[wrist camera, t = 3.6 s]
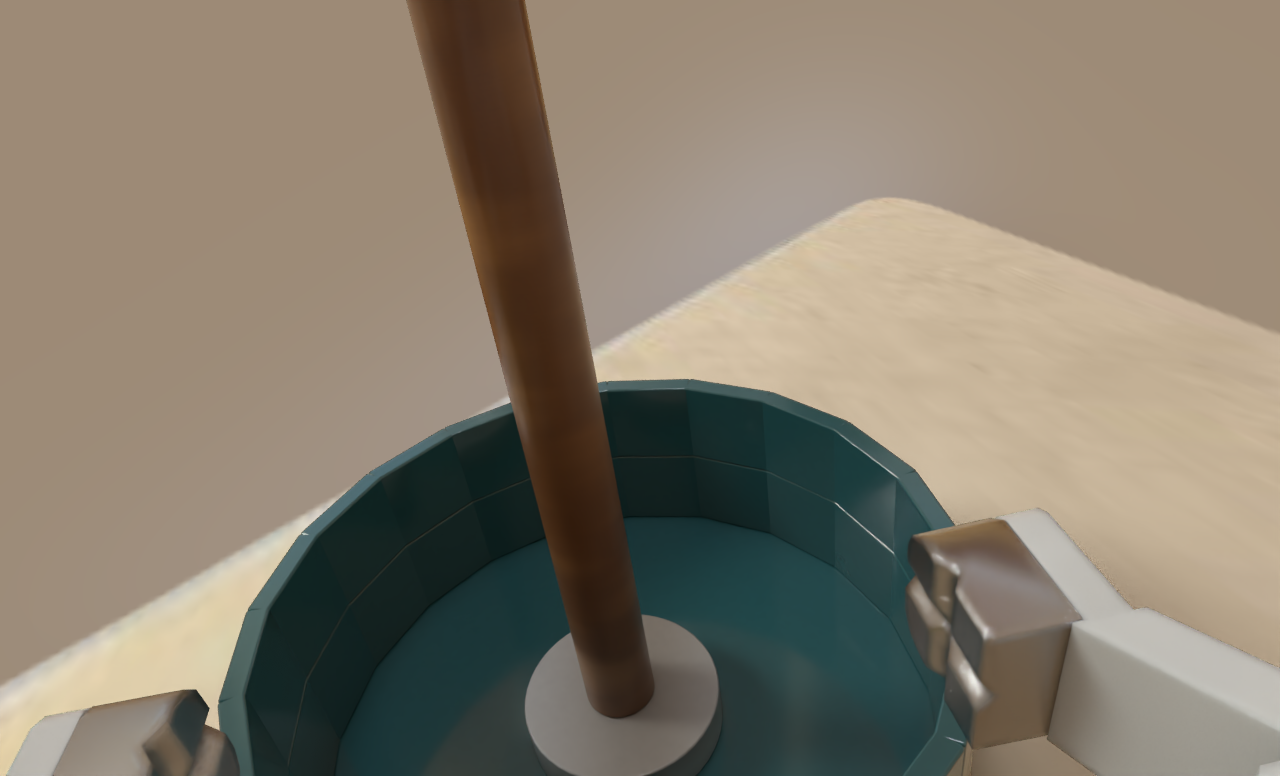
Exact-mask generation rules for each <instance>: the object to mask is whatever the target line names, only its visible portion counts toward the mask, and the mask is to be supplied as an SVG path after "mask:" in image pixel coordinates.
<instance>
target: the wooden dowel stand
mask: <svg viewBox="0 0 1280 776" xmlns="http://www.w3.org/2000/svg"><path fill="white" fill-rule="evenodd" d="M406 1H407V5H408V9H409V13H410V16H411V20H412V24H413V27H414V32H415V36H416V39H417V43H418V47H419V51H420V55H421V58H422V62H423V66H424V70H425V74H426V78H427V82H428V85H429V89H430V93H431V97H432V101H433V105H434V109H435V112H436V116H437V120H438V124H439V128H440V131H441V136H442V139H443V143H444V147H445V151H446V155H447V159H448V162H449V166H450V170H451V173H452V178H453V182H454V185H455V189H456V193H457V197H458V201H459V205H460V208H461V212H462V216H463V220H464V224H465V228H466V232H467V235H468V239H469V243H470V247H471V251H472V255H473V259H474V262H475V266H476V270H477V273H478V278H479V281H480V285H481V289H482V293H483V297H484V301H485V304H486V308H487V312H488V316H489V320H490V324H491V327H492V331H493V335H494V339H495V343H496V347H497V351H498V354H499V358H500V362H501V366H502V370H503V374H504V378H505V381H506V385H507V389H508V393H509V397H510V401H511V405H512V408H513V412H514V416H515V420H516V424H517V428H518V431H519V435H520V439H521V443H522V447H523V451H524V455H525V458H526V462H527V466H528V470H529V474H530V478H531V481H532V485H533V489H534V493H535V497H536V501H537V504H538V508H539V512H540V516H541V520H542V524H543V528H544V531H545V535H546V539H547V543H548V547H549V551H550V554H551V558H552V562H553V566H554V570H555V574H556V578H557V581H558V585H559V589H560V593H561V597H562V601H563V604H564V608H565V612H566V616H567V620H568V624H569V627H570V631H571V633H569V634H567V635H566V636H565V637H563V638H562V639H561V640H559V641H558V642H557V643H556V644H555V645H554V646H553V647H552V648H551V649H550V650H549V651H548V652H547V653H546V654H545V656H544V657H543V658H542V659H541V661H540V662H539V664H538V665H537V667H536V669H535V671H534V673H533V675H532V677H531V679H530V682H529V685H528V688H527V692H526V698H525V718H526V724H527V728H528V731H529V734H530V737H531V740H532V743H533V746H534V749H535V752H536V755H537V758H538V760H539V763H540V765H541V767H542V769H543V770H544V771H545V773H546V774H547V776H696V775H697V774H698V773H699V772H700V770H701V769H702V768H703V767H704V765H705V764H706V763H707V761H708V760H709V758H710V756H711V755H712V753H713V751H714V749H715V747H716V744H717V742H718V739H719V735H720V731H721V727H722V717H723V716H722V702H721V694H720V686H719V679H718V674H717V669H716V667H715V664H714V661H713V659H712V657H711V655H710V654H709V652H708V650H707V649H706V648H705V646H704V645H703V644H702V643H701V641H699V640H698V639H697V638H696V637H695V636H694V635H693V634H692V633H691V632H689V631H688V630H686V629H685V628H683V627H681V626H680V625H678V624H676V623H674V622H671V621H669V620H666V619H663V618H659V617H655V616H649V615H641V610H640V605H639V599H638V594H637V589H636V583H635V578H634V573H633V568H632V562H631V557H630V552H629V547H628V541H627V536H626V531H625V526H624V520H623V515H622V510H621V505H620V499H619V494H618V489H617V483H616V478H615V473H614V468H613V462H612V457H611V452H610V447H609V441H608V436H607V431H606V426H605V420H604V415H603V410H602V405H601V399H600V394H599V389H598V383H597V378H596V373H595V368H594V362H593V357H592V352H591V347H590V342H589V336H588V332H587V326H586V320H585V315H584V310H583V304H582V299H581V294H580V289H579V283H578V279H577V273H576V268H575V262H574V257H573V252H572V247H571V242H570V237H569V231H568V226H567V220H566V215H565V210H564V204H563V199H562V194H561V189H560V183H559V178H558V173H557V168H556V162H555V157H554V152H553V147H552V141H551V136H550V131H549V126H548V120H547V115H546V110H545V105H544V99H543V94H542V89H541V83H540V78H539V73H538V68H537V62H536V57H535V52H534V47H533V41H532V36H531V31H530V25H529V20H528V15H527V10H526V4H525V0H406Z"/></svg>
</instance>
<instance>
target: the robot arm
mask: <svg viewBox="0 0 1280 776" xmlns="http://www.w3.org/2000/svg"><path fill="white" fill-rule="evenodd" d="M907 561H908V563H909V565H910V566H911V568H912V570H913V571H914V573H915V576H914V577H913V579H912V580H911V581H910V582H909V584H908V585H907V586H906V587H905V611H906V616H907V621H908V626H909V631H910V633H911V636H912V638H913V641H914V644H915V646H916V649H917V651H918V652H919V654H920V656H921V658H922V660H923V662H924V664H925V666H926V667H927V668H929V669H931V670H932V671H934V672H936V673H937V674H939V675H941V676H942V677H944V678H946V683H945V693H944V700H945V702H946V704H947V706H948V707H949V709H950V711H951V713H952V715H953V716H954V718H955V720H956V722H957V723H958V725H959V727H960V729H961V731H962V732H963V734H964V736H965V738H966V740H967V741H968V743H969V745H970V747H971V748H972V750H975V749H980V748H986V747H991V746H996V745H1001V744H1006V743H1011V742H1016V741H1021V740H1026V739H1031V738H1036V737H1041V736H1046V735H1048V737H1047V740H1049V741H1050V742H1051V743H1053V744H1054V745H1055V746H1057V747H1058V748H1060V749H1061V750H1062V751H1064V752H1065V753H1066V754H1068V755H1069V756H1071V757H1072V758H1073V759H1075V760H1076V761H1077V762H1079V763H1080V764H1082V765H1083V766H1084V767H1086V768H1087V769H1088V770H1090V771H1091V772H1093V773H1094V774H1095V775H1097V776H1280V668H1279V667H1277V666H1274V665H1272V664H1270V663H1268V662H1266V661H1263V660H1261V659H1259V658H1257V657H1255V656H1253V655H1250V654H1248V653H1246V652H1244V651H1242V650H1240V649H1237V648H1235V647H1233V646H1231V645H1229V644H1226V643H1224V642H1222V641H1220V640H1218V639H1216V638H1213V637H1211V636H1209V635H1207V634H1205V633H1202V632H1200V631H1198V630H1196V629H1194V628H1192V627H1189V626H1187V625H1185V624H1183V623H1181V622H1179V621H1176V620H1174V619H1172V618H1170V617H1168V616H1165V615H1163V614H1161V613H1159V612H1157V611H1155V610H1152V609H1150V608H1148V607H1144V608H1139V609H1133V608H1132V607H1131V606H1130V605H1129V603H1128V602H1127V601H1126V600H1125V599H1124V598H1123V597H1122V596H1121V594H1120V593H1119V592H1118V591H1117V590H1116V589H1115V588H1114V587H1113V585H1112V584H1111V583H1110V582H1109V581H1108V580H1107V579H1106V578H1105V576H1104V575H1103V574H1102V573H1101V572H1100V571H1099V570H1098V568H1097V567H1096V566H1095V565H1094V564H1093V563H1092V562H1091V561H1090V559H1089V558H1088V557H1087V556H1086V555H1085V554H1084V553H1083V552H1082V550H1081V549H1080V548H1079V547H1078V546H1077V545H1076V544H1075V542H1074V541H1073V540H1072V539H1071V538H1070V537H1069V536H1068V535H1067V533H1066V532H1065V531H1064V530H1063V529H1062V528H1061V527H1060V526H1059V524H1058V523H1057V522H1056V521H1055V520H1054V519H1053V518H1052V516H1051V515H1050V514H1049V513H1048V512H1046V511H1044V510H1042V509H1040V508H1034V509H1030V510H1025V511H1021V512H1016V513H1012V514H1007V515H1002V516H998V517H996V518H988V519H983V520H979V521H974V522H970V523H965V524H961V525H956V526H952V527H947V528H943V529H938V530H934V531H929V532H925V533H920V534H916V535H912V537H911V539H910V541H909V543H908V551H907ZM209 709H210V708H209V707H208V705H207V704H206V703H205V701H204V700H203V699H202V697H201V696H200V695H199V693H198V692H197V690H180V691H174V692H169V693H163V694H158V695H153V696H147V697H142V698H137V699H131V700H126V701H120V702H115V703H110V704H104V705H99V706H93V707H92V708H87V709H81V710H76V711H71V712H65V713H60V714H55V715H49V716H45V717H44V718H43V719H42V720H40V721H39V722H38V723H37V724H36V725H35V726H33V727H32V728H31V729H30V731H29V733H28V734H27V736H26V738H25V740H24V742H23V744H22V746H21V748H20V750H19V751H18V753H17V755H16V757H15V759H14V761H13V763H12V765H11V767H10V768H9V770H8V772H7V774H6V776H240V765H239V761H238V758H237V755H236V751H235V748H234V746H233V744H232V743H231V741H230V739H229V738H228V736H227V735H226V733H224V732H221V731H219V730H217V729H214V728H212V727H210V726H208V725H205V721H206V718H207V715H208V712H209Z"/></svg>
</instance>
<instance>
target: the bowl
mask: <svg viewBox="0 0 1280 776" xmlns="http://www.w3.org/2000/svg"><path fill="white" fill-rule="evenodd" d="M598 389H599V394H600V399H601V405H602V410H603V415H604V420H605V426H606V431H607V436H608V441H609V447H610V452H611V457H612V462H613V468H614V473H615V478H616V483H617V489H618V494H619V499H620V505H621V510H622V515H623V520H624V526H625V531H626V536H627V541H628V547H629V552H630V557H631V562H632V568H633V573H634V578H635V583H636V589H637V594H638V599H639V605H640V610H641V615H649V616H655V617H659V618H663V619H666V620H669V621H671V622H674V623H676V624H678V625H680V626H681V627H683V628H685V629H686V630H688V631H689V632H691V633H692V634H693V635H694V636H695V637H696V638H697V639H698V640H699V641H701V643H702V644H703V645H704V646H705V648H706V649H707V650H708V652H709V654H710V655H711V657H712V659H713V661H714V664H715V667H716V669H717V674H718V679H719V686H720V694H721V702H722V716H723V717H722V727H721V731H720V735H719V739H718V742H717V744H716V747H715V749H714V751H713V753H712V755H711V756H710V758H709V760H708V761H707V763H706V764H705V765H704V767H703V768H702V769H701V770H700V772H699V773H698V774H697V775H696V776H970V773H971V765H972V758H973V751H974V750H972V748H971V747H970V745H969V743H968V741H967V740H966V738H965V736H964V734H963V732H962V731H961V729H960V727H959V725H958V723H957V722H956V720H955V718H954V716H953V715H952V713H951V711H950V709H949V707H948V706H947V704H946V702H945V700H944V693H945V683H946V678H944V677H942V676H941V675H939V674H937V673H936V672H934V671H932V670H931V669H929V668H927V667H926V666H925V664H924V662H923V660H922V658H921V656H920V654H919V652H918V651H917V649H916V646H915V644H914V641H913V638H912V636H911V633H910V631H909V626H908V621H907V616H906V611H905V587H906V586H907V585H908V584H909V582H910V581H911V580H912V579H913V577H914V576H915V573H914V571H913V570H912V568H911V566H910V565H909V563H908V561H907V551H908V543H909V541H910V539H911V537H912V535H916V534H920V533H925V532H929V531H934V530H938V529H943V528H947V527H952V526H955V524H954V523H953V522H952V520H951V519H950V517H949V516H948V515H947V513H946V512H945V510H944V509H943V508H942V506H941V505H940V503H939V502H938V501H937V499H936V498H935V496H934V495H933V494H932V492H931V491H930V489H929V488H928V487H927V485H926V484H925V482H924V481H923V480H922V478H921V477H920V475H919V474H918V473H917V472H916V470H915V469H914V468H912V467H911V466H909V465H908V464H907V463H905V462H904V461H903V460H901V459H900V458H898V457H897V456H896V455H894V454H893V453H892V452H890V451H889V450H887V449H886V448H885V447H883V446H882V445H880V444H879V443H878V442H876V441H875V440H874V439H872V438H871V437H869V436H868V435H867V434H865V433H864V432H863V431H861V430H860V429H858V428H857V427H856V426H854V425H853V424H851V423H850V422H848V421H846V420H844V419H841V418H838V417H836V416H833V415H831V414H828V413H825V412H823V411H820V410H818V409H815V408H813V407H810V406H807V405H805V404H802V403H800V402H797V401H794V400H792V399H789V398H787V397H784V396H781V395H779V394H776V393H774V392H770V391H763V390H757V389H751V388H744V387H738V386H732V385H725V384H719V383H713V382H707V381H700V380H694V379H691V380H689V379H673V380H635V381H608V382H606V381H605V382H600V383H598ZM569 633H571V631H570V627H569V624H568V620H567V616H566V612H565V608H564V604H563V601H562V597H561V593H560V589H559V585H558V581H557V578H556V574H555V570H554V566H553V562H552V558H551V554H550V551H549V547H548V543H547V539H546V535H545V531H544V528H543V524H542V520H541V516H540V512H539V508H538V504H537V501H536V497H535V493H534V489H533V485H532V481H531V478H530V474H529V470H528V466H527V462H526V458H525V455H524V451H523V447H522V443H521V439H520V435H519V431H518V428H517V424H516V420H515V416H514V412H513V408H512V405H511V403H508V404H506V405H503V406H501V407H498V408H495V409H493V410H490V411H487V412H485V413H482V414H479V415H477V416H474V417H471V418H469V419H466V420H463V421H461V422H458V423H456V424H453V425H450V426H448V427H446V428H445V429H442V430H440V431H438V432H437V433H435V434H433V435H431V436H430V437H428V438H426V439H425V440H423V441H421V442H420V443H418V444H416V445H415V446H413V447H411V448H409V449H408V450H406V451H405V452H403V453H401V454H399V455H398V456H396V457H394V458H393V459H391V460H389V461H387V462H386V463H384V464H383V465H381V466H379V467H377V468H376V469H374V470H372V471H371V472H370V473H369V474H366V476H364V477H363V478H362V479H361V480H360V481H359V482H357V483H356V484H355V485H354V486H353V487H352V488H351V489H350V490H349V491H347V492H346V493H345V494H344V495H343V496H342V497H341V498H340V499H338V500H337V501H336V502H335V503H334V504H333V505H332V506H331V507H330V508H328V509H327V510H326V511H325V512H324V513H323V514H322V515H321V516H319V517H318V518H317V519H316V520H315V521H314V522H313V523H312V524H311V525H309V526H308V527H307V528H306V529H305V530H304V531H303V532H302V533H301V535H299V536H298V538H297V539H296V540H295V542H294V543H293V545H292V546H291V548H290V549H289V551H288V552H287V553H286V555H285V556H284V558H283V559H282V561H281V562H280V564H279V565H278V566H277V568H276V569H275V571H274V572H273V574H272V575H271V577H270V578H269V579H268V581H267V582H266V584H265V585H264V587H263V588H262V590H261V591H260V592H259V594H258V595H257V597H256V598H255V600H254V601H253V603H252V604H251V605H250V607H249V608H248V612H247V613H246V615H245V618H244V621H243V624H242V628H241V631H240V634H239V637H238V640H237V643H236V647H235V650H234V653H233V656H232V659H231V662H230V666H229V669H228V672H227V675H226V678H225V681H224V685H223V688H222V691H221V694H220V697H219V701H218V702H219V704H218V716H219V728H220V731H221V732H224V733H226V735H227V736H228V738H229V739H230V741H231V743H232V744H233V746H234V748H235V751H236V755H237V758H238V761H239V765H240V776H547V774H546V773H545V771H544V770H543V769H542V767H541V765H540V763H539V760H538V758H537V755H536V752H535V749H534V746H533V743H532V740H531V737H530V734H529V731H528V728H527V724H526V718H525V698H526V692H527V688H528V685H529V682H530V679H531V677H532V675H533V673H534V671H535V669H536V667H537V665H538V664H539V662H540V661H541V659H542V658H543V657H544V656H545V654H546V653H547V652H548V651H549V650H550V649H551V648H552V647H553V646H554V645H555V644H556V643H557V642H558V641H559V640H561V639H562V638H563V637H565V636H566V635H567V634H569Z"/></svg>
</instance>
